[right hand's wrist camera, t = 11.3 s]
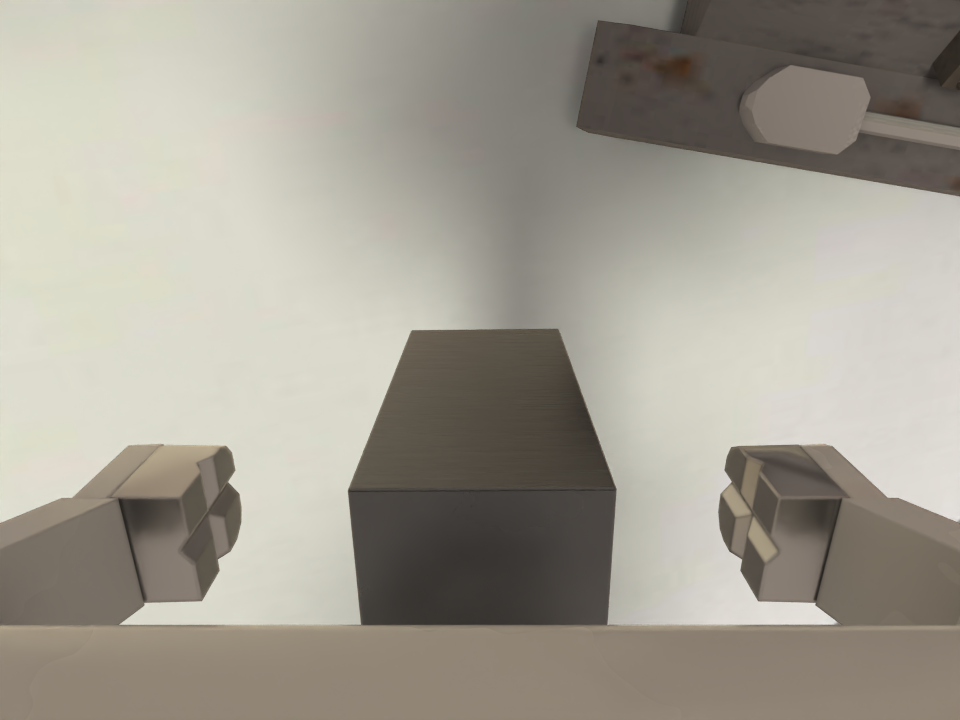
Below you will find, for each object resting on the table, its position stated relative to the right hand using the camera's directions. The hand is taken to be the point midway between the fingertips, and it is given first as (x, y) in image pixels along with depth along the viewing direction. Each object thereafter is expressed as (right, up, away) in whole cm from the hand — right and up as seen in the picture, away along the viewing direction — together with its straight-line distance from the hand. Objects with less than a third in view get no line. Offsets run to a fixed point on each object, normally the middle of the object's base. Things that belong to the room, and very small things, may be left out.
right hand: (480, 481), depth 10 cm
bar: (0, -9, +13) cm, 15 cm away
